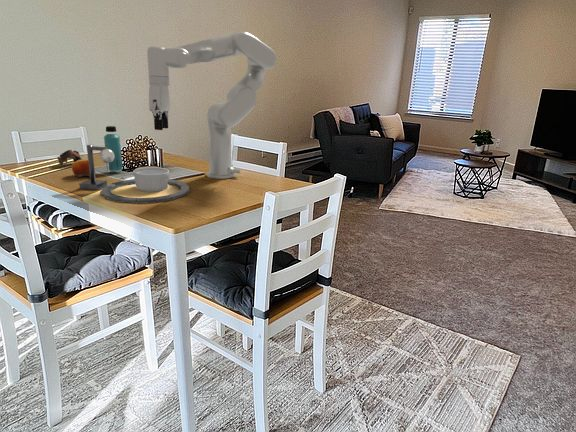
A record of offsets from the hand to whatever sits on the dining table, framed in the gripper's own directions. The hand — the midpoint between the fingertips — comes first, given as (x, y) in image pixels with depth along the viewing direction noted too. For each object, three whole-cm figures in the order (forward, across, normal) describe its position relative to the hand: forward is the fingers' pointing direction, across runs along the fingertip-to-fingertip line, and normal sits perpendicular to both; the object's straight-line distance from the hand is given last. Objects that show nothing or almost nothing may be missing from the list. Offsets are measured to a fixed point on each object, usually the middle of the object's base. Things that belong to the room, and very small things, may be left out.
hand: (161, 128), depth 166 cm
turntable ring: (+21, +17, 0) cm, 27 cm away
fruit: (+22, +2, -34) cm, 40 cm away
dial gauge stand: (+21, +17, -18) cm, 33 cm away
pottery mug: (+22, -15, -50) cm, 56 cm away
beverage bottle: (+22, -7, -25) cm, 34 cm away
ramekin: (+22, +12, 0) cm, 25 cm away
